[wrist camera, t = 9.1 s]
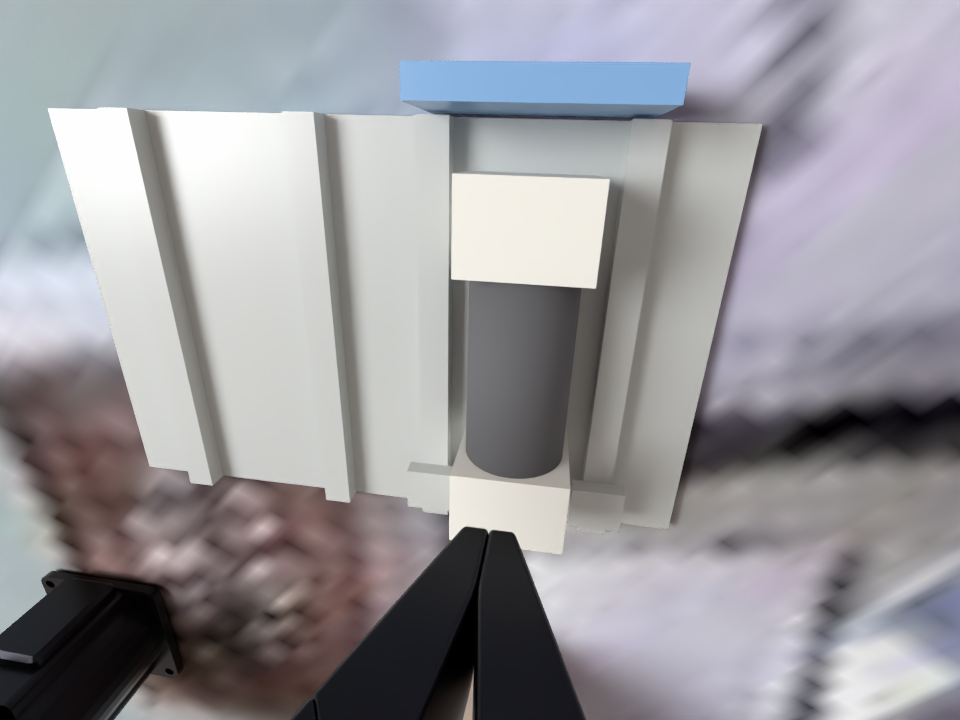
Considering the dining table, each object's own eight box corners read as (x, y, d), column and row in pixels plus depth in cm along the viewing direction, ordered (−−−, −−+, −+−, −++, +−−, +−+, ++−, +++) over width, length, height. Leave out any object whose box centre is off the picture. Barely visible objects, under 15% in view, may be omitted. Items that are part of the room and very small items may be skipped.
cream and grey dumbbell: (560, 483, 18) (562, 554, 15) (467, 473, 19) (448, 539, 15) (596, 175, 14) (610, 179, 11) (475, 171, 14) (452, 173, 11)
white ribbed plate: (665, 522, 19) (688, 594, 16) (156, 461, 21) (88, 512, 18) (765, 87, 13) (832, 63, 10) (50, 78, 16) (-76, 57, 12)
